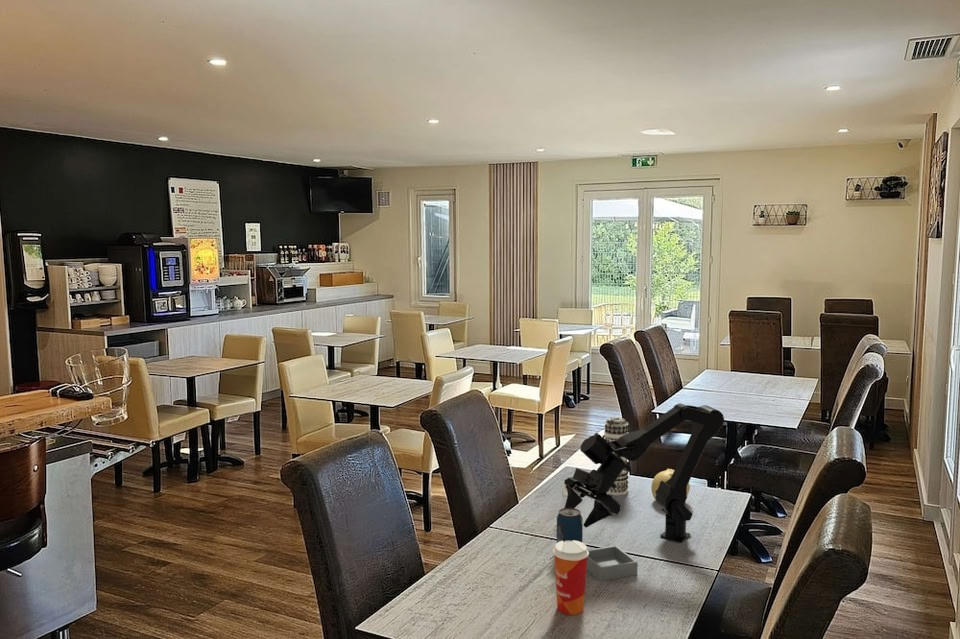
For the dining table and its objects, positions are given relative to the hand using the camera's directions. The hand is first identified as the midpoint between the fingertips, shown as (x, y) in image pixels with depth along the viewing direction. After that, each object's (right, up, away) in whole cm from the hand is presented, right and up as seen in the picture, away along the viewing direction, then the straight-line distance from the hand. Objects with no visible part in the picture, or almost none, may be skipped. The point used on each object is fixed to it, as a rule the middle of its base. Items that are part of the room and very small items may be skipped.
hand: (573, 520), depth 194 cm
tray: (+8, -10, -8) cm, 15 cm away
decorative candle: (+20, -4, +49) cm, 53 cm away
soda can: (-1, -9, 0) cm, 9 cm away
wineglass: (+2, -7, +25) cm, 25 cm away
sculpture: (+36, -5, +38) cm, 53 cm away
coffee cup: (-5, -13, -28) cm, 31 cm away
